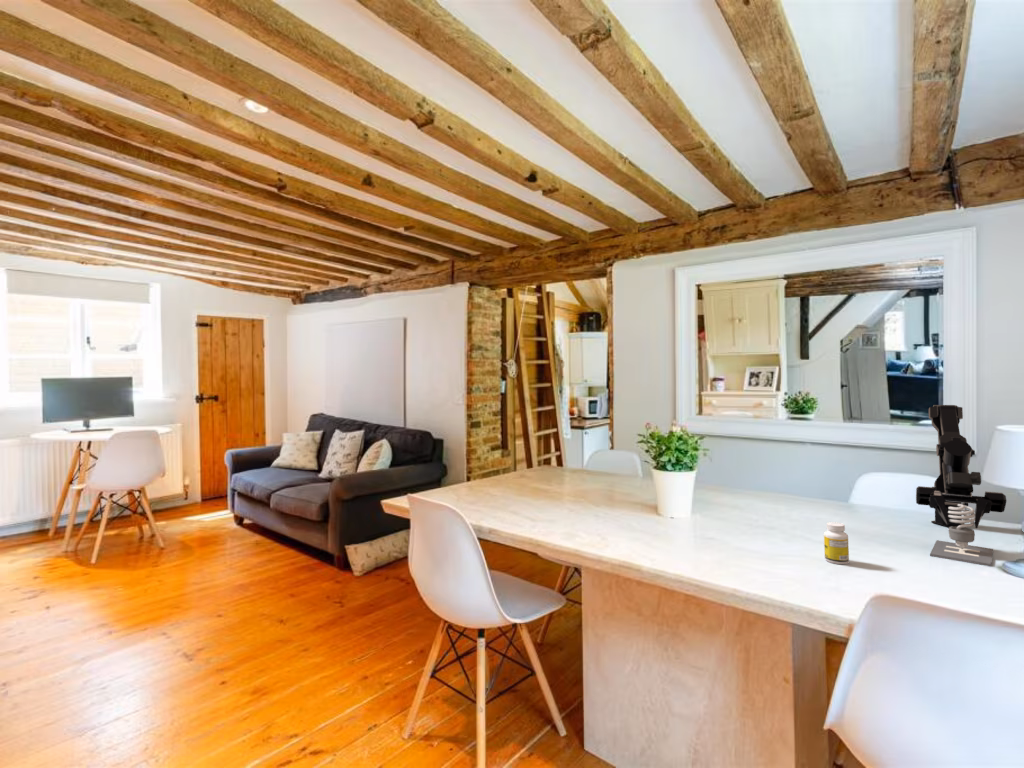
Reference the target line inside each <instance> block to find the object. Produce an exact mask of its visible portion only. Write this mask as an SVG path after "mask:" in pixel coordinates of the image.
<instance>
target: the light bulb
mask: <svg viewBox="0 0 1024 768" xmlns="http://www.w3.org/2000/svg"><path fill="white" fill-rule="evenodd" d="M958 506H959V507H948V509H950V510H959V511H962V512H958V511H948V513H949V514H957V515H962V516H957V515H948V517H949V518H954V519H949V522H953V523H960V524H962V525H959V526H951V527H948V534H949V539H950V540H953V541H955V543H956V545H957V546H958V547H959V548H962V549H963V548H966V547H968V545H969V543H973V542H975V536H976V535H975V530H974V529H972V528H970V527H973V526H975V509H974V508H973V507H972V506H969V505H968V506H965V505H962V503H961V504H958ZM965 508H966V509H965ZM956 519H962V520H956Z"/></svg>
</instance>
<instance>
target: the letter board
mask: <svg viewBox="0 0 1024 768" xmlns="http://www.w3.org/2000/svg"><path fill="white" fill-rule="evenodd" d="M993 555H994V548H991V547H983V546H978V545H977V546H975V545H969V544H968V547H966V548H963V549H962V548H959V547H958V546H957V545H956V542H951V541H944V540H939V539H938V540H937V539H936V540H935V543H934V545H933V547H932V549H931V551H930V553H929V556H930V557H933V558H941V559H946V560H951V561H958V562H964V563H969V564H975V565H981V566H985V567H986V566H987V567H992V562H993Z"/></svg>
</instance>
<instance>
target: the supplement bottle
mask: <svg viewBox="0 0 1024 768" xmlns="http://www.w3.org/2000/svg"><path fill="white" fill-rule="evenodd" d="M826 529H827V530H826V531H824V533H823V538H824V539H823V540H824V541H823V542H824V543H823V546H824V559H825V561H826V562H828V563H831V564H836V565H846V564H847V565H848V564H849V563H850V554H849V552H850V551H849V549H850V548H849V535H848V534H847V532H845V530H846V527H845V524H844V523H842V522H836V521H835V522H834V521H833V522H832V521H829V522H826Z"/></svg>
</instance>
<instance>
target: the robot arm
mask: <svg viewBox="0 0 1024 768" xmlns="http://www.w3.org/2000/svg"><path fill="white" fill-rule="evenodd" d="M963 417H964V412H963V406H958V405H955V404H933V406H930V407H929V408H928V419H930V420H931V421H930V422H931V426H932V427H933V428H934V429H935V430H936V432H937V443H936V445H935V446H936V448H935V449H936V456H937V457H938V466H939V475H938V476H937V478H936V479H935V481H934V482H933V483H934V485H933V486H921V485H920V486H917V487H916V488H915V489H916V490H915V501H916V504H917V505H920V506H928V507H929V508H930V509H934V520H931V522H930V523H932V524H936V525H939V526H942V527H945V528H949V527H951V526H959V525H962V524H960V523H953V522H949V519H954V518H949V517H948V515H957V514H949V513H948V511H958V512H963V511H959V510H950V509H948V507H959V506H958V504H962V505H965V506H969V504H975V509H974V514H975V517H974V518H975V521H974V522H975V524H974V528H976V529H978V527H979V524H980V522H981V519H982V517H983V516H984V515H985V514H990V512H993V513H1004V512H1005V509H1006V505H1007V496H1006V495H1005V494H1004V493H1003V492H999V491H998V492H997V491H996V492H995V491H985V492H984V496H979V495H973V493H974V487H973V486H980V485H981V484H982V476H981V472H980V471H971V472H970V471H969V466H970V461H971V458H972V457H973V456H975V455H976V452H975V449H974V448H972V446H971V445H970V444H969V443H968V441H967V438H966V437H964V436H963V435H961V434H960V425H959V424H960V422H961V421H960V420H963ZM969 472H970V473H969ZM965 509H966V508H965ZM966 510H967V509H966ZM957 516H963V515H957ZM956 520H962V519H956Z"/></svg>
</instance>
